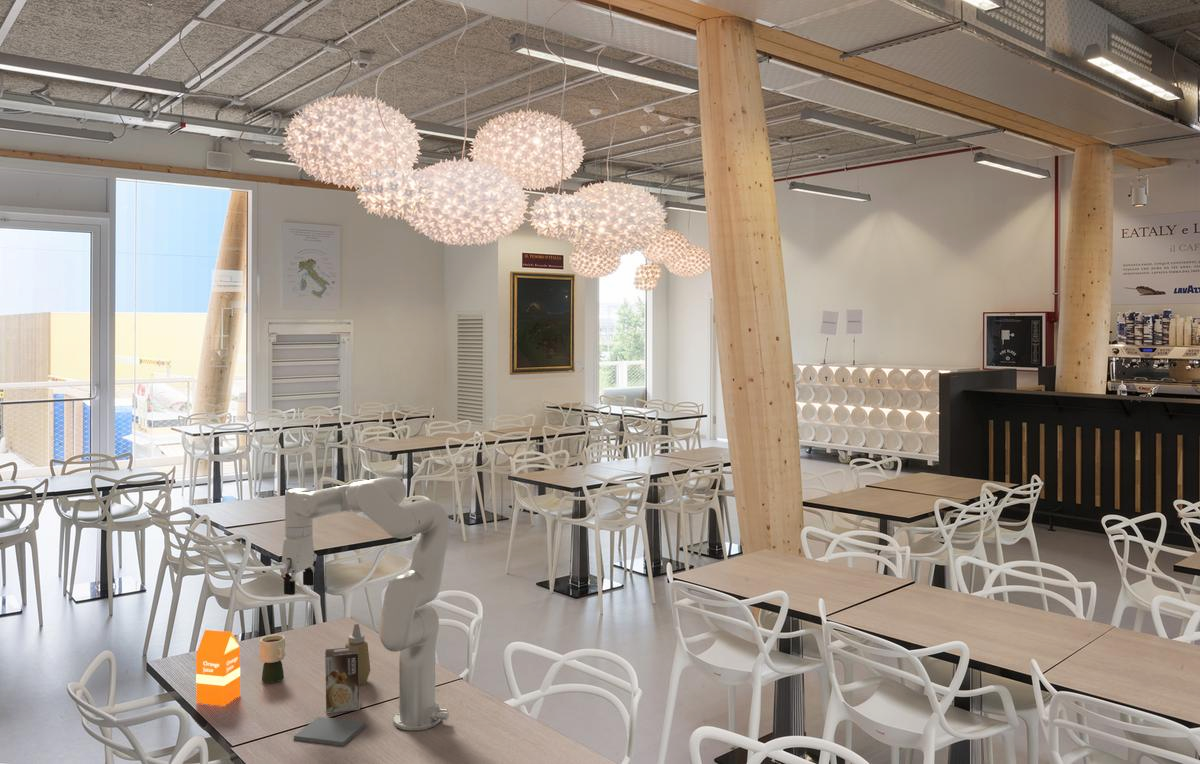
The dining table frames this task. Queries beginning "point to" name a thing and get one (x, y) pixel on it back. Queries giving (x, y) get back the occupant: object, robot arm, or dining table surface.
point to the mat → (330, 731)
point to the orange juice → (218, 668)
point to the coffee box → (342, 679)
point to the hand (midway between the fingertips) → (299, 589)
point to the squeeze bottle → (360, 653)
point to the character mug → (272, 657)
